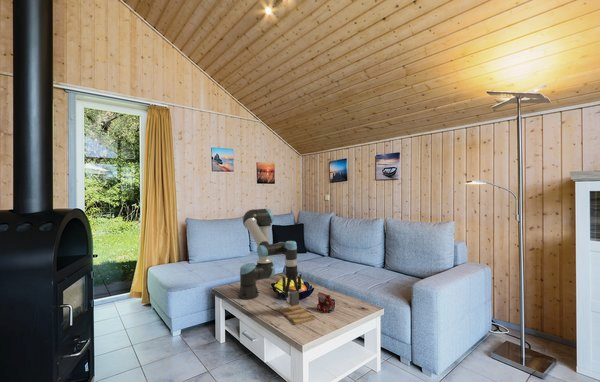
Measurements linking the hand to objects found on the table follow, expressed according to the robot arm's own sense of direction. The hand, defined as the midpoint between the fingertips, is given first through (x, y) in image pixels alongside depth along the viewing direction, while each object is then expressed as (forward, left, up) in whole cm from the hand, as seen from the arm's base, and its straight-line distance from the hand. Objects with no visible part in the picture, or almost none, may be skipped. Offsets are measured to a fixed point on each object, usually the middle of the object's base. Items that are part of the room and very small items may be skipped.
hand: (292, 301), depth 188 cm
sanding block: (0, 0, -2) cm, 2 cm away
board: (+6, 0, -7) cm, 9 cm away
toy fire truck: (+8, +20, -7) cm, 23 cm away
